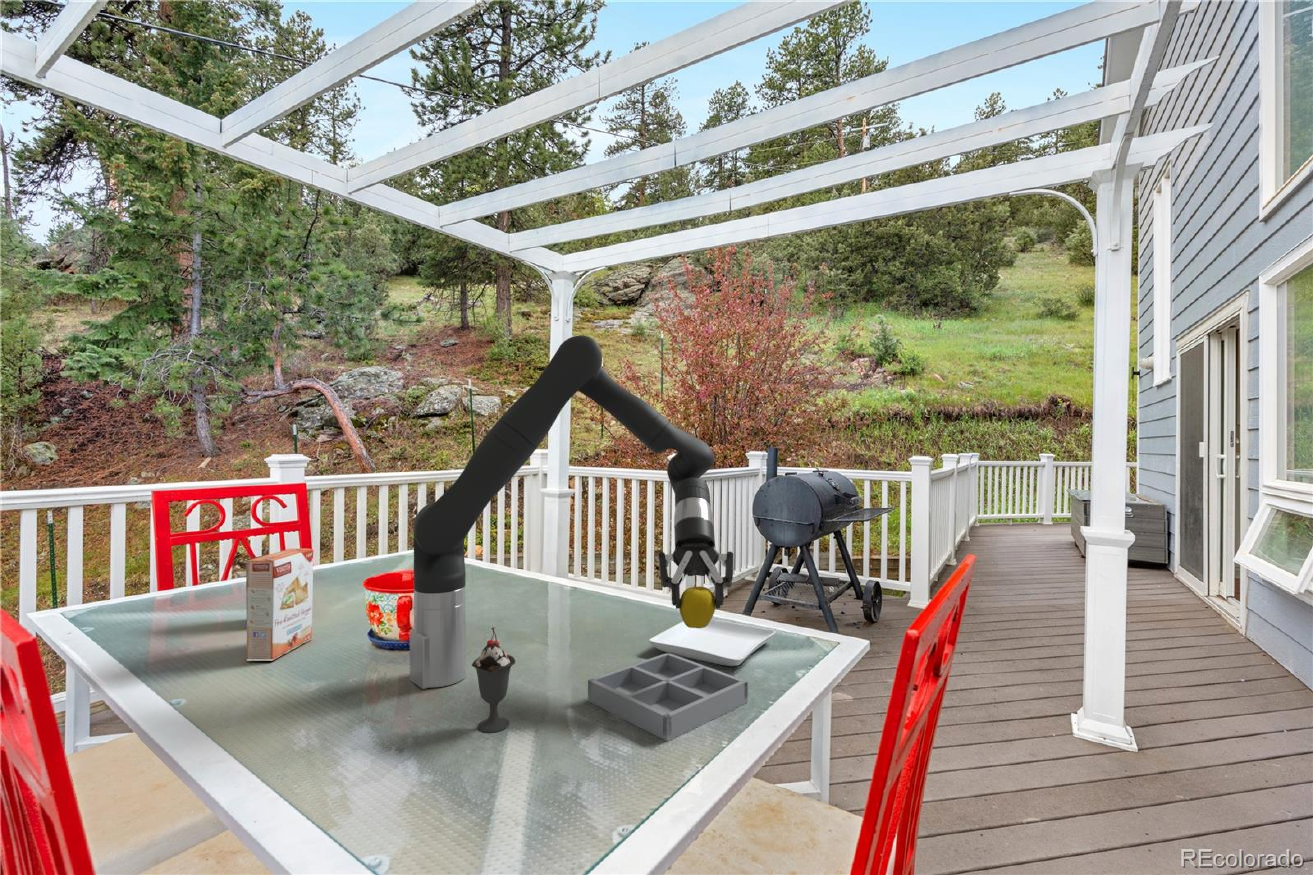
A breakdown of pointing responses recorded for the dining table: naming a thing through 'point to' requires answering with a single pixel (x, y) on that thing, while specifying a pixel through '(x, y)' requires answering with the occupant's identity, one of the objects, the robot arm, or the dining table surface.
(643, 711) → the tray
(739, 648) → the salad plate
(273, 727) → the dining table surface
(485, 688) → the sundae
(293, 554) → the cracker box
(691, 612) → the apple
